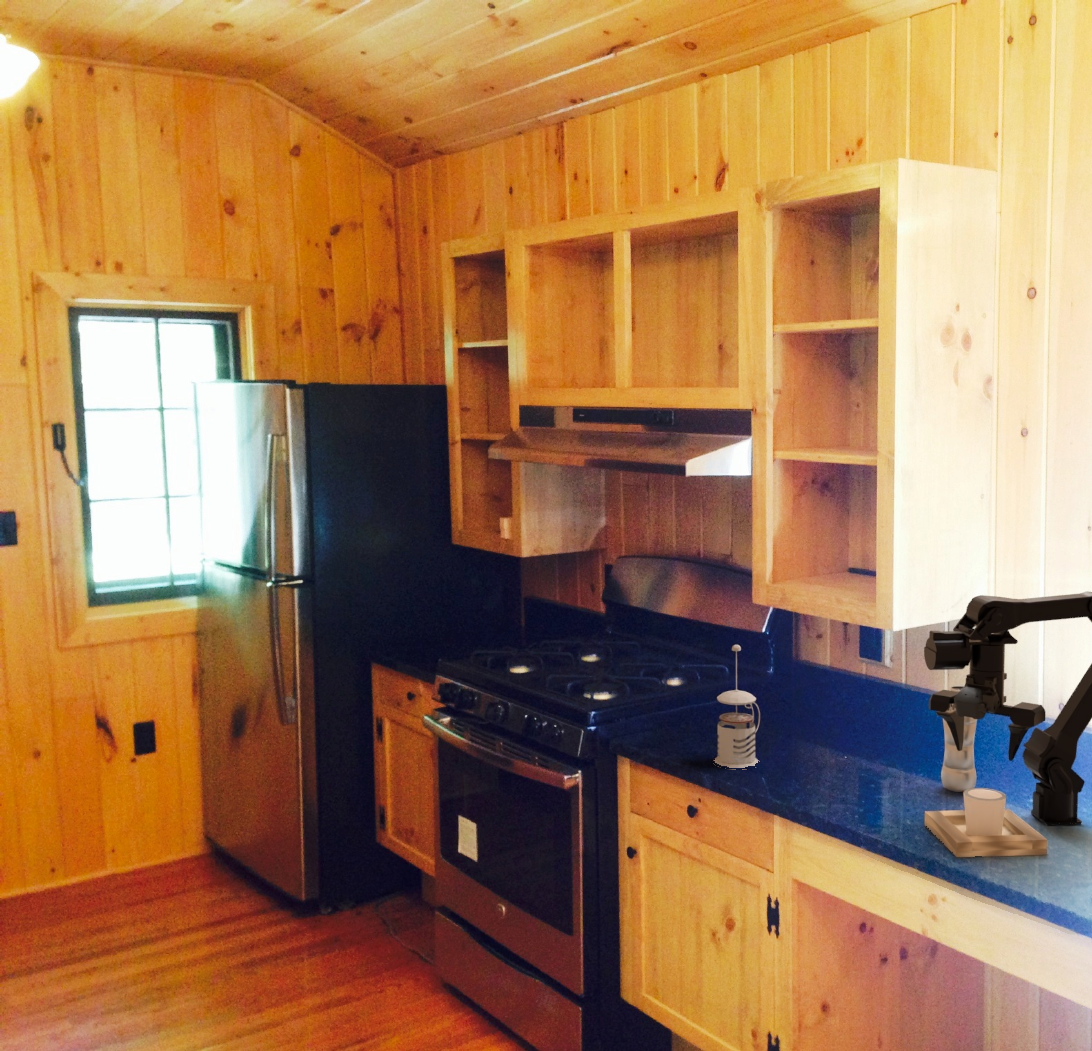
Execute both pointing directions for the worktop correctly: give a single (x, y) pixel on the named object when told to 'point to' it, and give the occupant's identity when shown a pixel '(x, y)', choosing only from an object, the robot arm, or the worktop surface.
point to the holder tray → (1011, 842)
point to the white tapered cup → (984, 811)
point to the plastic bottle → (959, 757)
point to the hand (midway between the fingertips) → (985, 755)
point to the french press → (736, 729)
